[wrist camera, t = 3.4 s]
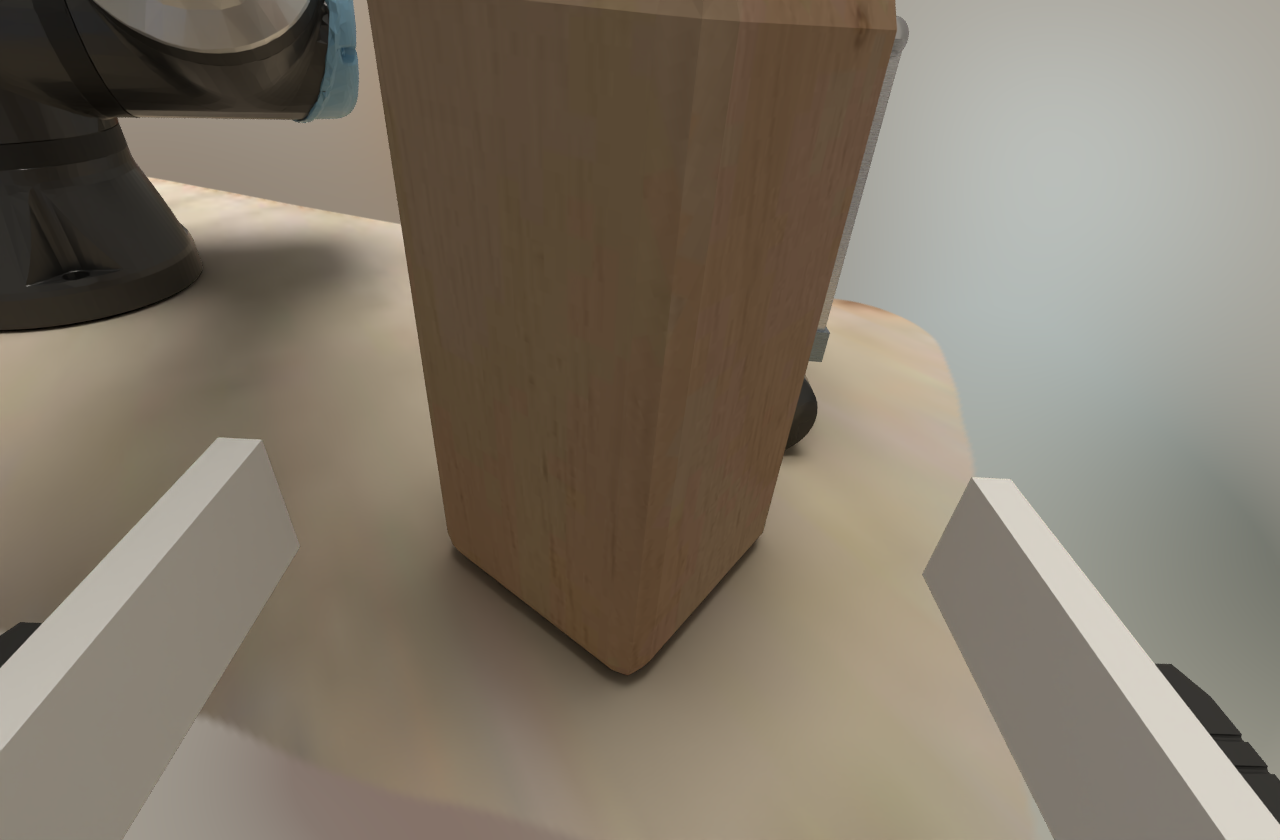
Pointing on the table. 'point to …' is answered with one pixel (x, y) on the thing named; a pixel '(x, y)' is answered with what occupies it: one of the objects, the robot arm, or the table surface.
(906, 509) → the table surface
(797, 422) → the trolley
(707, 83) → the wooden block
